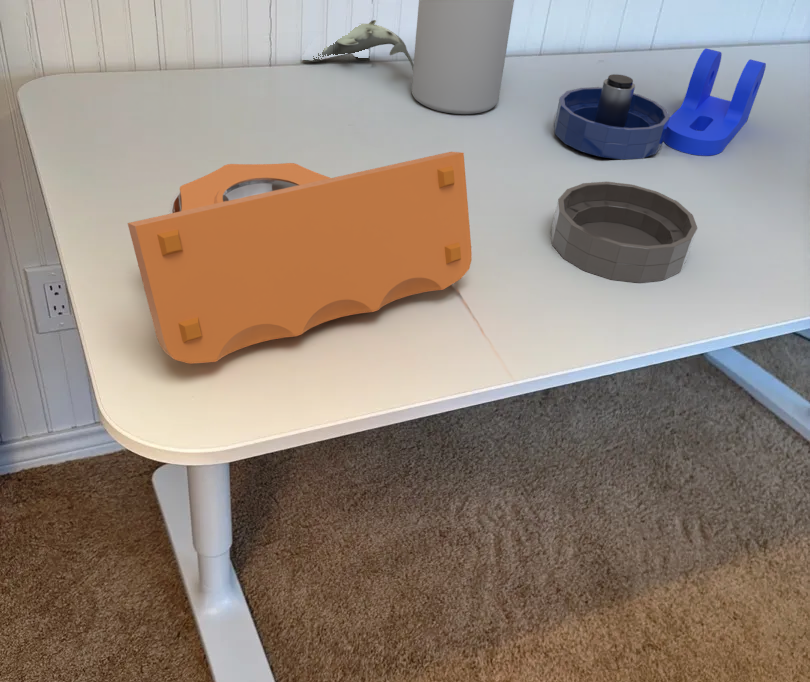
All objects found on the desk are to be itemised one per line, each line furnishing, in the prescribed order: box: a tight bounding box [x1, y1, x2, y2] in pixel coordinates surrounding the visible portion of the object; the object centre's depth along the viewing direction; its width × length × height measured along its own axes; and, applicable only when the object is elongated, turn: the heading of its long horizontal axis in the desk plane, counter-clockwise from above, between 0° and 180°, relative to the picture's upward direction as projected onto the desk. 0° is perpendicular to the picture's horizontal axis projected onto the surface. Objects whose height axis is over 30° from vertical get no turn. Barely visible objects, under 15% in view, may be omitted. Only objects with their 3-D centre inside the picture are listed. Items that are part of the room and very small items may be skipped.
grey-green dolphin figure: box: [313, 19, 414, 70], centre depth 124 cm, size 14×17×8 cm
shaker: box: [594, 73, 636, 127], centre depth 108 cm, size 4×4×8 cm
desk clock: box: [127, 151, 473, 365], centre depth 76 cm, size 12×30×20 cm
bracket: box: [663, 48, 767, 157], centre depth 113 cm, size 18×8×9 cm, turn 149°
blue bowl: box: [553, 86, 671, 160], centre depth 110 cm, size 14×14×4 cm
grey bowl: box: [550, 181, 698, 284], centre depth 87 cm, size 14×14×4 cm
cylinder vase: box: [411, 0, 515, 115], centre depth 110 cm, size 12×12×25 cm
